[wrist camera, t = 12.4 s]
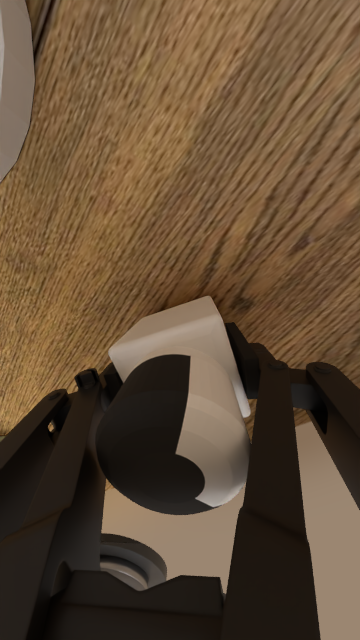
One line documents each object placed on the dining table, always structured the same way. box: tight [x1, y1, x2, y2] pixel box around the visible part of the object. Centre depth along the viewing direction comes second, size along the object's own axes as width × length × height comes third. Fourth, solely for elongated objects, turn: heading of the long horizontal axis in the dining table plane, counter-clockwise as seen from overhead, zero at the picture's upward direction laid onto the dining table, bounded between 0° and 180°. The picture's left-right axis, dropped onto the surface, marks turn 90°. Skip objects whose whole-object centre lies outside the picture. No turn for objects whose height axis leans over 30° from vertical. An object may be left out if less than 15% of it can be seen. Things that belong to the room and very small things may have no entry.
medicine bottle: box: [95, 296, 251, 515], centre depth 12 cm, size 7×7×12 cm
